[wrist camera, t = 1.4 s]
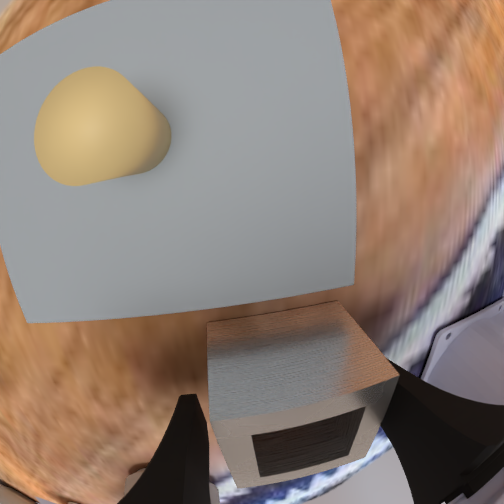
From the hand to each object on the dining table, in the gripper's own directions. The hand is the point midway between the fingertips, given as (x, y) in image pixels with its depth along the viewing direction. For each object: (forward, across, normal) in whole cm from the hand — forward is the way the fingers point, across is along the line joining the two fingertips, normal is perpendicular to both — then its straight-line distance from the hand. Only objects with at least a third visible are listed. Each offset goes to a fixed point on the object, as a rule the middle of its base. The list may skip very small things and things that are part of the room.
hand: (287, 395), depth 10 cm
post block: (+2, +4, -10) cm, 11 cm away
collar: (+2, 0, 0) cm, 2 cm away
